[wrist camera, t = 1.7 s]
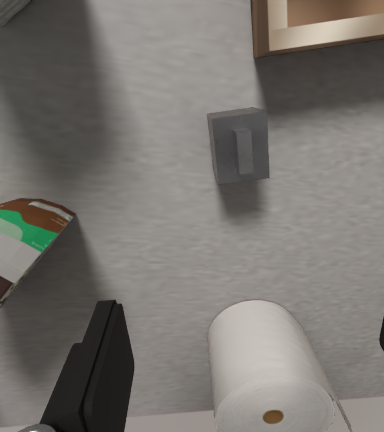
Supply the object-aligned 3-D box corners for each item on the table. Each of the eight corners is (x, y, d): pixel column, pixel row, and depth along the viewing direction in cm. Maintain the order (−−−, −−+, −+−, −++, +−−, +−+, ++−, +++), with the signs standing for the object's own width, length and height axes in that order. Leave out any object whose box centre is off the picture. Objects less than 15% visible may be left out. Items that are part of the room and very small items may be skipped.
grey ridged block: (252, 107, 27) (272, 112, 21) (255, 163, 29) (274, 183, 23) (207, 113, 27) (213, 121, 21) (213, 169, 29) (220, 190, 23)
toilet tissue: (196, 311, 35) (201, 390, 26) (301, 286, 34) (345, 360, 25) (218, 376, 39) (228, 466, 30) (313, 356, 38) (354, 442, 29)
